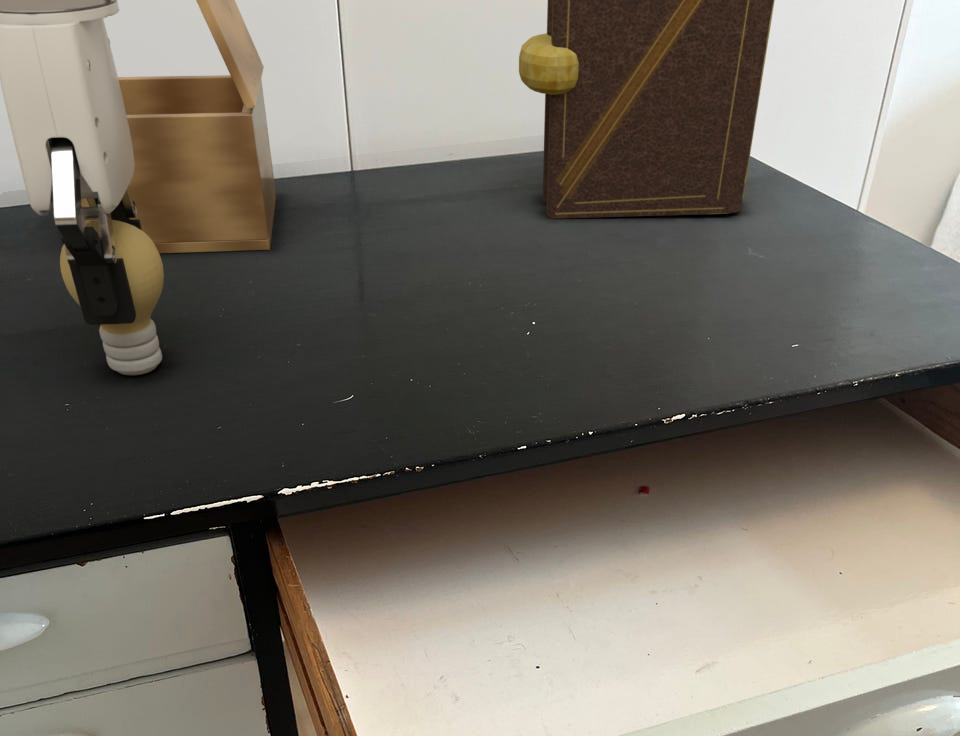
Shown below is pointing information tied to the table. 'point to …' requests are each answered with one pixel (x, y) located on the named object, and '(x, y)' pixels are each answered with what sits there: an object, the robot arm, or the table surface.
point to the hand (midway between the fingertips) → (119, 297)
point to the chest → (199, 164)
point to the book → (647, 104)
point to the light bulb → (137, 341)
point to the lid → (234, 46)
